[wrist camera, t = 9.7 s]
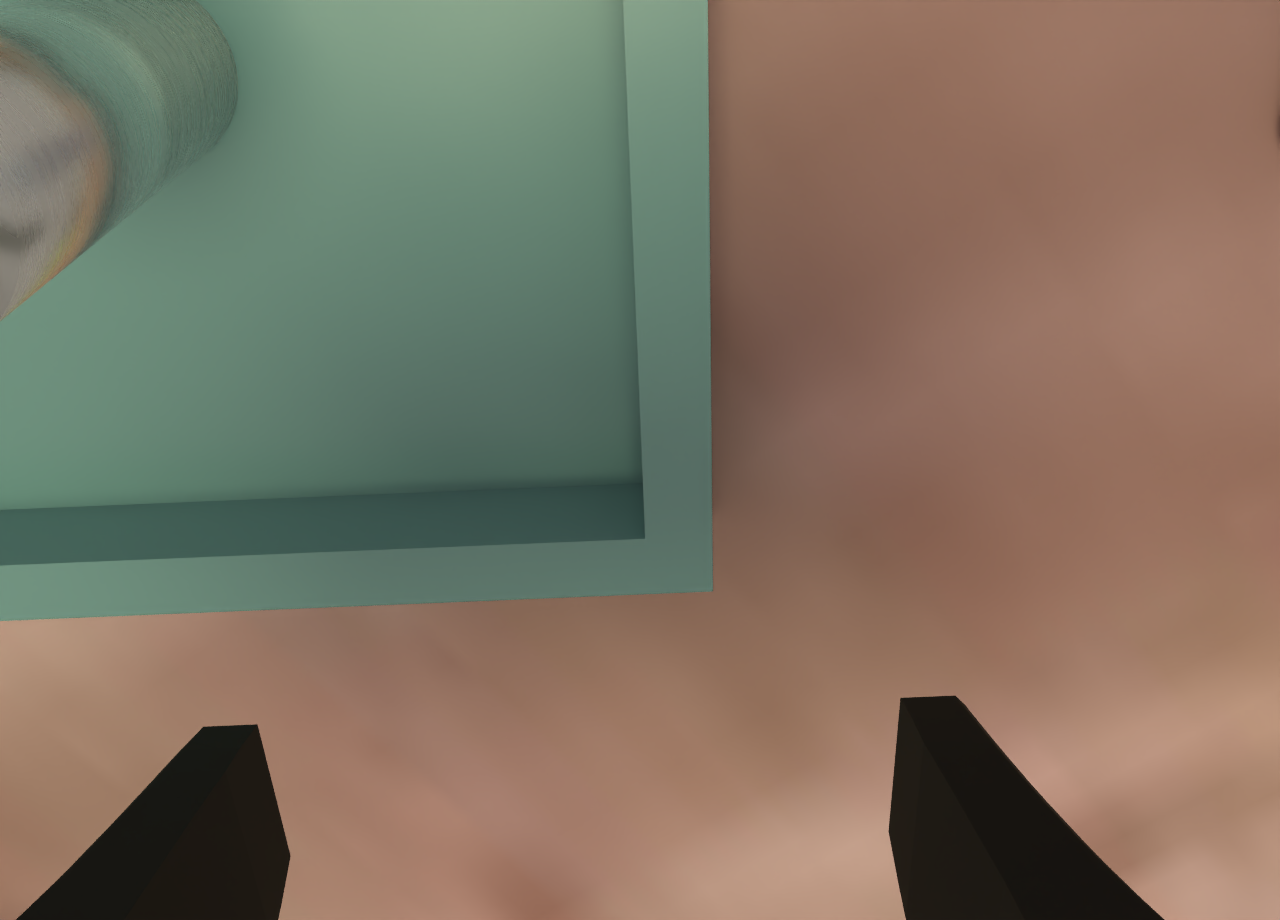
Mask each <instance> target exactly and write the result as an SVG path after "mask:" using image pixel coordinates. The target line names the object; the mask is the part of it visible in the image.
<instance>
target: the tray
mask: <svg viewBox="0 0 1280 920" xmlns="http://www.w3.org/2000/svg"><path fill="white" fill-rule="evenodd" d="M15 1H19V0H0V6H2V5H6V4H9V3H12V2H15ZM196 1H197V2H198V3H199V4H200V5H201V6H203V8H204V9H205V10H206V11H207V12H208V13H209V14H210V15H211V16H212V18H213V19H214V20H215V22H216V23H217V25H218V26H219V27H220V29H221V31H222V32H223V34H224V36H225V38H226V39H227V42H228V44H229V46H230V49H231V51H232V54H233V57H234V61H235V64H236V70H237V75H238V99H237V105H236V109H235V113H234V116H233V118H232V121H231V123H230V125H229V127H228V129H227V130H226V132H225V134H224V135H223V136H222V138H221V139H220V140H219V141H218V142H217V143H216V144H215V145H214V146H213V147H212V148H211V149H210V150H208V151H207V152H206V153H205V154H204V155H202V156H201V157H200V158H199V159H198V160H196V161H195V162H194V163H193V164H191V165H190V166H189V167H188V168H187V169H185V170H184V171H183V172H182V173H180V174H179V175H178V176H177V177H176V178H174V179H173V180H172V181H171V182H169V183H168V184H167V185H166V186H165V187H163V188H162V189H161V190H160V191H159V192H157V193H156V194H155V195H154V196H152V197H151V198H150V199H149V200H148V201H146V202H145V203H144V204H143V205H141V206H140V207H139V208H138V209H137V210H135V211H134V212H133V213H132V214H131V215H129V216H128V217H127V218H126V219H124V220H123V221H122V222H121V223H120V224H118V225H117V226H116V227H115V228H113V229H112V230H111V231H110V232H109V233H107V234H106V235H105V236H104V237H103V238H101V239H100V240H99V241H98V242H96V243H95V244H94V245H93V246H92V247H90V248H89V249H88V250H87V251H85V252H84V253H83V254H82V255H81V256H79V257H78V258H77V259H76V260H74V261H73V262H72V263H71V264H70V265H68V266H67V267H66V268H65V269H64V270H62V271H61V272H60V273H59V274H57V275H56V276H55V277H54V278H53V279H51V280H50V281H49V282H48V283H46V284H45V285H44V286H43V287H42V288H40V289H39V290H38V291H37V292H36V293H34V294H33V295H32V296H31V297H29V298H28V299H27V300H26V301H25V302H23V303H22V304H21V305H20V306H18V307H17V308H16V309H15V310H14V311H12V312H11V313H10V314H9V315H8V316H6V317H5V318H4V319H3V320H1V321H0V621H10V620H34V619H58V618H82V617H106V616H131V615H155V614H179V613H203V612H227V611H251V610H275V609H300V608H324V607H348V606H372V605H396V604H420V603H444V602H469V601H493V600H517V599H541V598H565V597H589V596H613V595H638V594H662V593H686V592H710V591H713V552H712V436H711V321H710V205H709V89H708V0H196Z"/></svg>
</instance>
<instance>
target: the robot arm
mask: <svg viewBox="0 0 1280 920" xmlns="http://www.w3.org/2000/svg"><path fill="white" fill-rule="evenodd" d="M889 836H890V841H891V846H892V852H893V857H894V862H895V867H896V873H897V878H898V883H899V888H900V893H901V898H902V902H903V907H904V912H905V917H906V920H1164V919H1163V918H1162V917H1161V916H1160V915H1159V914H1158V913H1156V912H1155V911H1154V910H1153V909H1152V908H1151V907H1150V906H1149V905H1148V904H1147V903H1146V902H1145V901H1143V900H1142V899H1141V898H1140V897H1139V896H1138V895H1137V894H1136V893H1135V892H1134V891H1133V890H1132V889H1131V888H1130V887H1129V886H1128V885H1127V884H1126V883H1125V882H1124V881H1123V880H1122V879H1121V878H1120V877H1119V876H1118V875H1117V874H1115V873H1114V872H1113V871H1112V870H1111V869H1110V868H1109V867H1108V866H1107V865H1106V864H1105V863H1104V862H1103V861H1102V860H1101V859H1100V858H1099V857H1098V856H1097V855H1096V854H1095V853H1094V852H1093V850H1092V849H1091V848H1090V847H1089V846H1088V845H1087V844H1086V843H1085V842H1084V841H1083V840H1082V839H1081V838H1080V837H1079V836H1078V835H1077V834H1076V833H1075V832H1074V831H1073V829H1072V828H1071V827H1070V826H1069V825H1068V824H1067V823H1066V822H1065V821H1064V820H1063V819H1062V818H1061V817H1060V816H1059V814H1058V813H1057V812H1056V811H1055V810H1054V809H1053V808H1052V807H1051V806H1050V805H1049V804H1048V803H1047V802H1046V800H1045V799H1044V798H1043V797H1042V796H1041V795H1040V794H1039V793H1038V791H1037V790H1036V789H1035V788H1034V787H1033V786H1032V785H1031V784H1030V782H1029V781H1028V780H1027V779H1026V778H1025V777H1024V776H1023V774H1022V773H1021V772H1020V771H1019V770H1018V769H1017V767H1016V766H1015V765H1014V764H1013V763H1012V762H1011V760H1010V759H1009V758H1008V757H1007V756H1006V755H1005V753H1004V752H1003V751H1002V750H1001V749H1000V747H999V746H998V745H997V744H996V743H995V741H994V740H993V739H992V738H991V737H990V735H989V734H988V733H987V732H986V730H985V729H984V728H983V727H982V726H981V724H980V723H979V722H978V721H977V719H976V718H975V717H974V716H973V714H972V713H971V712H970V711H969V710H968V708H967V707H966V706H965V705H964V703H962V702H961V701H960V700H959V699H958V698H957V697H956V696H937V697H912V698H901V699H900V710H899V721H898V733H897V744H896V755H895V766H894V777H893V789H892V800H891V811H890V822H889ZM289 861H290V852H289V848H288V844H287V840H286V836H285V832H284V828H283V824H282V820H281V816H280V813H279V809H278V805H277V801H276V797H275V793H274V789H273V785H272V781H271V777H270V773H269V769H268V765H267V761H266V757H265V753H264V749H263V745H262V741H261V737H260V733H259V729H258V725H235V726H211V727H203V728H202V729H201V730H200V731H199V732H198V733H197V734H196V735H195V736H194V737H193V738H192V739H191V740H190V741H189V742H188V743H187V744H186V745H185V746H184V747H183V748H182V749H181V751H180V752H179V753H178V754H177V755H176V756H175V757H174V758H173V759H172V760H171V761H170V762H169V763H168V764H167V766H166V767H165V768H164V769H163V770H162V771H161V772H160V773H159V774H158V775H157V776H156V777H155V778H154V780H153V781H152V782H151V783H150V784H149V785H148V786H147V787H146V788H145V789H144V790H143V791H142V793H141V794H140V795H139V796H138V797H137V798H136V799H135V800H134V801H133V802H132V803H131V804H130V805H129V806H128V808H127V809H126V810H125V811H124V812H123V813H122V814H121V815H120V816H119V817H118V818H117V819H116V820H115V821H114V823H113V824H112V825H111V826H110V827H109V828H108V829H107V830H106V831H105V832H104V833H103V834H102V835H101V836H100V837H99V838H98V839H97V840H96V841H95V842H94V843H93V844H92V845H91V846H90V847H89V848H88V849H87V850H86V851H85V852H84V854H83V855H82V856H81V857H80V858H79V859H78V860H77V861H76V862H75V863H74V864H73V865H72V866H71V867H70V868H69V869H68V870H67V871H66V872H65V873H64V874H63V875H62V876H61V877H60V878H59V879H58V880H57V881H56V882H55V883H54V884H53V885H52V886H51V887H50V888H49V889H48V890H47V891H46V892H45V893H44V894H42V895H41V896H40V897H39V898H38V899H37V900H36V901H35V902H34V903H33V904H32V905H31V906H30V907H29V908H28V909H27V910H26V911H25V912H24V913H23V914H22V915H20V916H19V917H18V918H17V919H16V920H278V918H279V913H280V908H281V904H282V898H283V893H284V888H285V882H286V877H287V872H288V866H289Z"/></svg>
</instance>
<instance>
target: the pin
mask: <svg viewBox="0 0 1280 920" xmlns="http://www.w3.org/2000/svg"><path fill="white" fill-rule="evenodd" d="M237 99H238V75H237V70H236V64H235V61H234V57H233V54H232V51H231V49H230V46H229V44H228V42H227V39H226V38H225V36H224V34H223V32H222V31H221V29H220V27H219V26H218V25H217V23H216V22H215V20H214V19H213V18H212V16H211V15H210V14H209V13H208V12H207V11H206V10H205V9H204V8H203V6H201V5H200V4H199V3H198V2H197V1H196V0H19V1H15V2H12V3H9V4H6V5H2V6H0V321H1V320H3V319H4V318H5V317H6V316H8V315H9V314H10V313H11V312H12V311H14V310H15V309H16V308H17V307H18V306H20V305H21V304H22V303H23V302H25V301H26V300H27V299H28V298H29V297H31V296H32V295H33V294H34V293H36V292H37V291H38V290H39V289H40V288H42V287H43V286H44V285H45V284H46V283H48V282H49V281H50V280H51V279H53V278H54V277H55V276H56V275H57V274H59V273H60V272H61V271H62V270H64V269H65V268H66V267H67V266H68V265H70V264H71V263H72V262H73V261H74V260H76V259H77V258H78V257H79V256H81V255H82V254H83V253H84V252H85V251H87V250H88V249H89V248H90V247H92V246H93V245H94V244H95V243H96V242H98V241H99V240H100V239H101V238H103V237H104V236H105V235H106V234H107V233H109V232H110V231H111V230H112V229H113V228H115V227H116V226H117V225H118V224H120V223H121V222H122V221H123V220H124V219H126V218H127V217H128V216H129V215H131V214H132V213H133V212H134V211H135V210H137V209H138V208H139V207H140V206H141V205H143V204H144V203H145V202H146V201H148V200H149V199H150V198H151V197H152V196H154V195H155V194H156V193H157V192H159V191H160V190H161V189H162V188H163V187H165V186H166V185H167V184H168V183H169V182H171V181H172V180H173V179H174V178H176V177H177V176H178V175H179V174H180V173H182V172H183V171H184V170H185V169H187V168H188V167H189V166H190V165H191V164H193V163H194V162H195V161H196V160H198V159H199V158H200V157H201V156H202V155H204V154H205V153H206V152H207V151H208V150H210V149H211V148H212V147H213V146H214V145H215V144H216V143H217V142H218V141H219V140H220V139H221V138H222V136H223V135H224V134H225V132H226V130H227V129H228V127H229V125H230V123H231V121H232V118H233V116H234V113H235V109H236V105H237Z"/></svg>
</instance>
